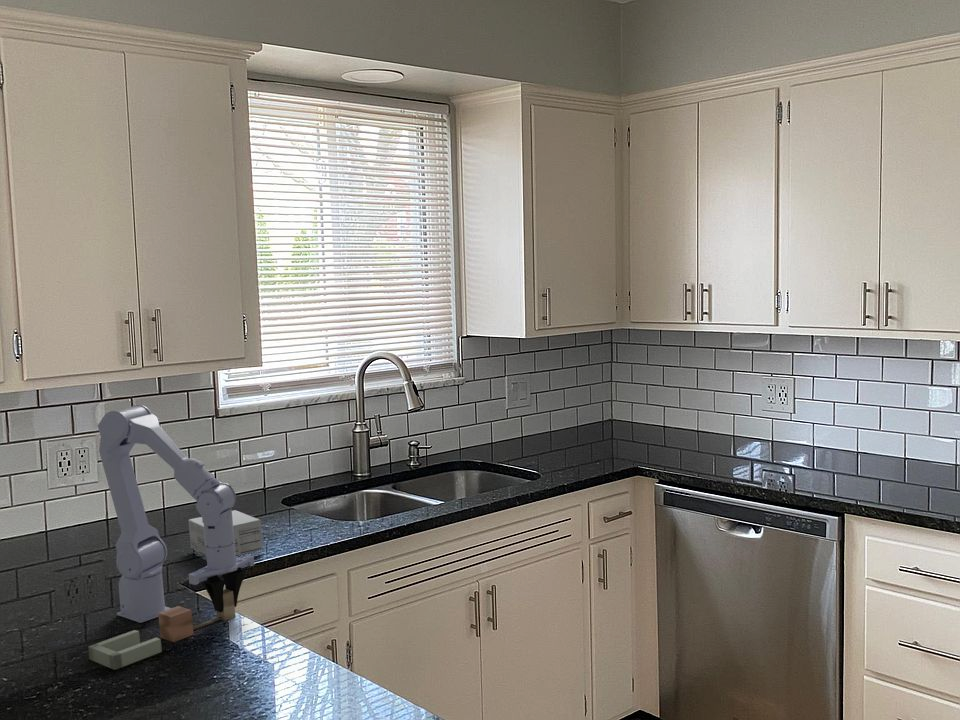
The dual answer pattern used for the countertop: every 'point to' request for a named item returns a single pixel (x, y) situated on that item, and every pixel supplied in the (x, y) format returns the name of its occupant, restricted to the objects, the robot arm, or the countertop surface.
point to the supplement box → (244, 534)
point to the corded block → (190, 619)
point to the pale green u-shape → (123, 650)
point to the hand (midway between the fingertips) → (225, 608)
